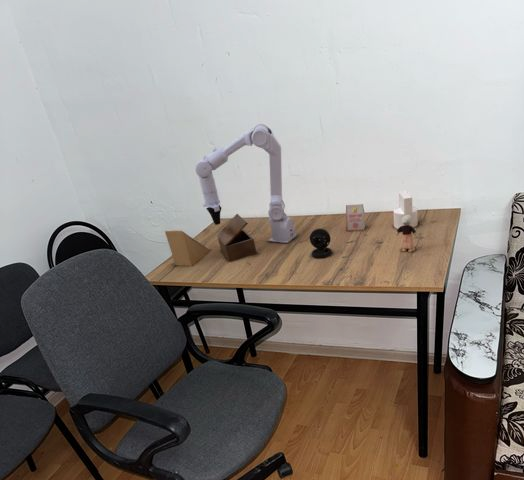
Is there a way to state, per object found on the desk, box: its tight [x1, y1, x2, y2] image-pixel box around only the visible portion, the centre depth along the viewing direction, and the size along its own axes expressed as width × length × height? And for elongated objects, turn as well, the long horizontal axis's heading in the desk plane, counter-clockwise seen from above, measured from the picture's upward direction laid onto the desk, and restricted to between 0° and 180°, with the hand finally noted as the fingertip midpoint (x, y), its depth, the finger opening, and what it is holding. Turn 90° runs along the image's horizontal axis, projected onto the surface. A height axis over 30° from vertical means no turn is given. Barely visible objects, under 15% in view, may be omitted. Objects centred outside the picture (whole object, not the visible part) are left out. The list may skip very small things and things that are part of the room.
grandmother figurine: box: [395, 215, 418, 253], centre depth 164 cm, size 8×4×13 cm, turn 65°
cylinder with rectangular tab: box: [393, 190, 419, 230], centre depth 183 cm, size 9×9×12 cm
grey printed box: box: [345, 203, 366, 232], centre depth 189 cm, size 4×7×10 cm, turn 70°
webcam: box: [309, 228, 333, 259], centre depth 175 cm, size 8×8×10 cm
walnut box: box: [217, 228, 257, 263], centre depth 192 cm, size 12×14×6 cm
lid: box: [216, 213, 249, 246], centre depth 189 cm, size 12×14×1 cm
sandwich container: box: [164, 229, 211, 267], centre depth 194 cm, size 9×15×15 cm, turn 154°
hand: (217, 224), depth 196 cm, fingers closed
